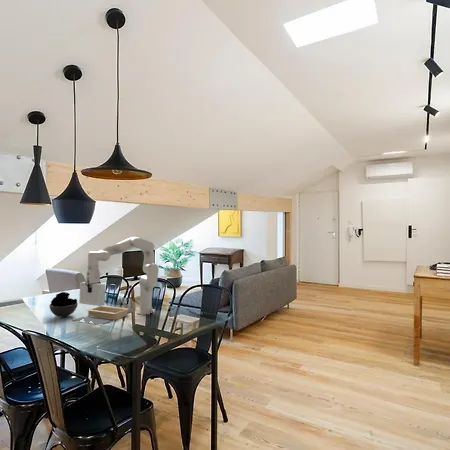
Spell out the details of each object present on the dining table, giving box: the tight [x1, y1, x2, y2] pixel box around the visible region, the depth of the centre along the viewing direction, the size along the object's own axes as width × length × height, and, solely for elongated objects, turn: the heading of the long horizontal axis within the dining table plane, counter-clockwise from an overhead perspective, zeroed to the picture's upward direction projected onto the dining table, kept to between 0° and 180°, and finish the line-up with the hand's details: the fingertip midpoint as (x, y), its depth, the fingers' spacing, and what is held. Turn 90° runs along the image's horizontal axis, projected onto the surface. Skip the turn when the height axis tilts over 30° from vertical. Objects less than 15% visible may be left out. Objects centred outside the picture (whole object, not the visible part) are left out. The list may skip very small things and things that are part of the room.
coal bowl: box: [49, 291, 79, 318], centre depth 264 cm, size 20×20×19 cm
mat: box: [72, 316, 112, 325], centre depth 253 cm, size 27×11×1 cm, turn 69°
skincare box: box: [78, 281, 106, 307], centre depth 253 cm, size 21×5×16 cm, turn 66°
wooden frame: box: [86, 305, 129, 321], centre depth 270 cm, size 27×19×5 cm
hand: (92, 291), depth 253 cm, fingers closed on skincare box, 5 cm apart
